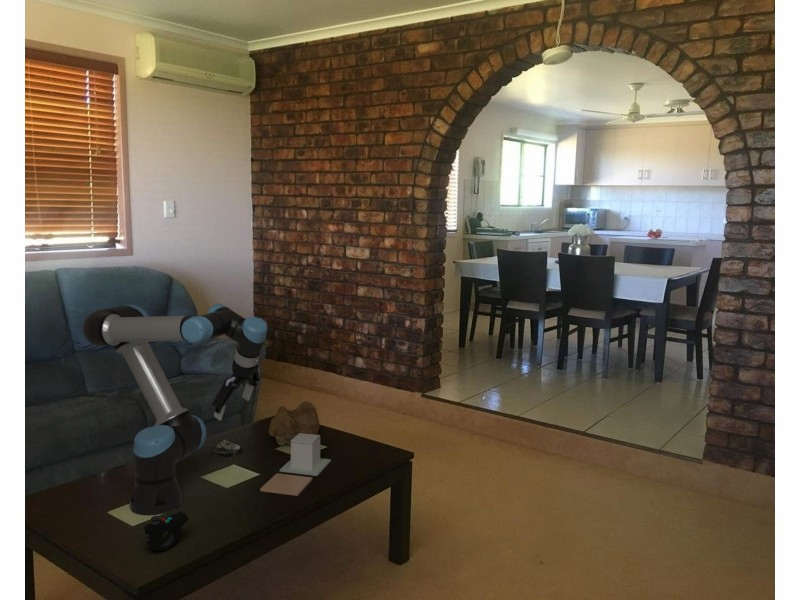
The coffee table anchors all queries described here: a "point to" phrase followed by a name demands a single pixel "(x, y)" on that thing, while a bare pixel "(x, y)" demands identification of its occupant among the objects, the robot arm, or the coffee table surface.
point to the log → (226, 449)
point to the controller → (164, 530)
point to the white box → (305, 451)
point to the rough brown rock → (294, 423)
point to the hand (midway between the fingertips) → (232, 408)
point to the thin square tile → (286, 484)
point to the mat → (314, 472)
